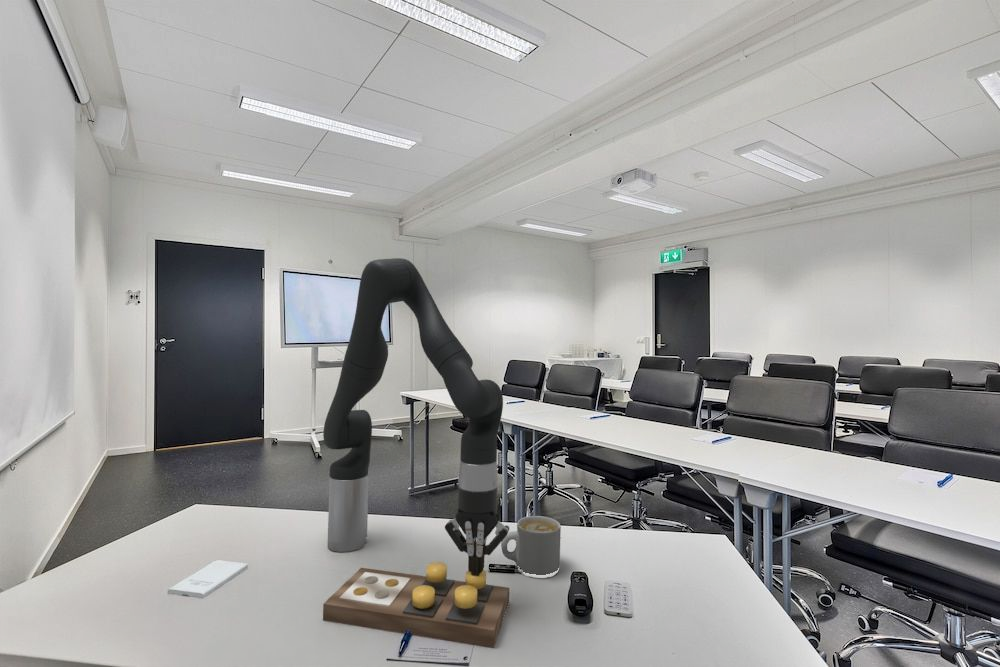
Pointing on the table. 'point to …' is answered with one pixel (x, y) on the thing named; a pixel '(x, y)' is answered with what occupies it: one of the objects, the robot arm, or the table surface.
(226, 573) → the external hard drive
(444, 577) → the button
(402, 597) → the button board
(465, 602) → the button
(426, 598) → the button
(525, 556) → the coffee mug
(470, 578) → the button
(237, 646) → the table surface
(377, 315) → the robot arm
